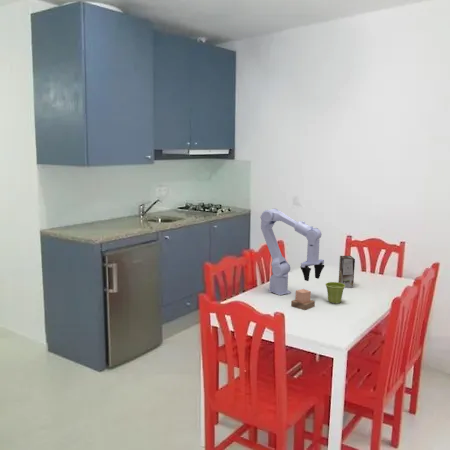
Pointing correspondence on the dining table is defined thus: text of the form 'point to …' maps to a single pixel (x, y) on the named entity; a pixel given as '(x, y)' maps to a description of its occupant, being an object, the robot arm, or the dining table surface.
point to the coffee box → (346, 271)
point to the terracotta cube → (303, 296)
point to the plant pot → (335, 291)
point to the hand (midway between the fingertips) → (311, 279)
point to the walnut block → (303, 304)
